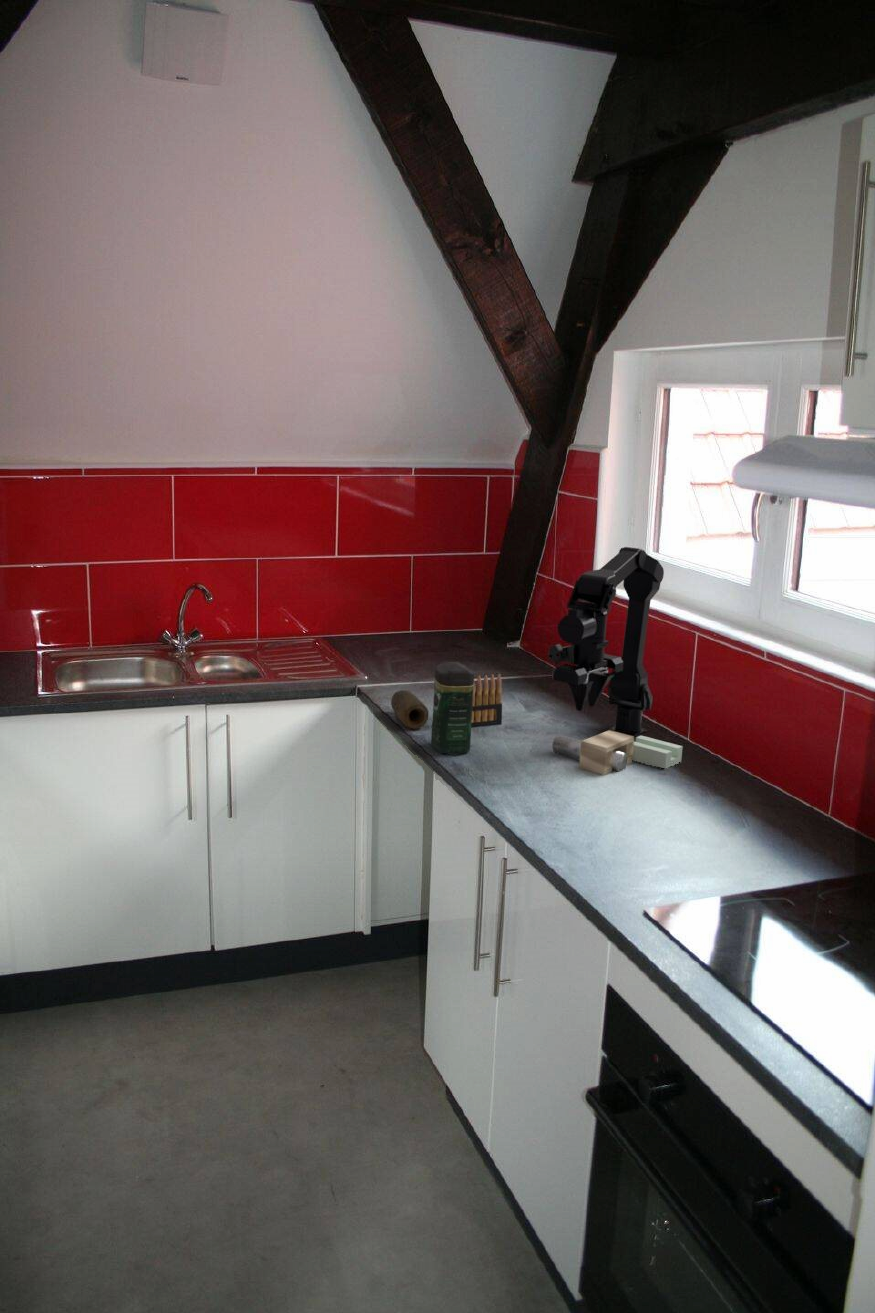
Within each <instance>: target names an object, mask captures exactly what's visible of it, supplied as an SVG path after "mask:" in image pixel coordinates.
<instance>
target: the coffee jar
mask: <svg viewBox="0 0 875 1313" xmlns="http://www.w3.org/2000/svg"><path fill="white" fill-rule="evenodd" d="M433 682H434V683H433V684H434V687H433V688H434V689H433V690H434V691H433V705H432V706H433V707H432V708H433V709H432V721H431V722H432V723H431V734H430V735H431V736H430V737H431V738H430V743H431V745H432V747H433V748H434V749H435V751H437V752H438V753H442V754H443V753H444V754H448V755H460V754H463V753H464V754H465V753H468V752H470V749H471V737H472V736H471V734H472V728H471V720H472V703H473V689H474V688H475V687H474V683H475V673H474V671H473V670H471V669H470V668H469V667H468V666H466V665H464V664H463V663H461V662H460V661H441V663H439V664H438V665H436V667H435V669H434V678H433Z"/></svg>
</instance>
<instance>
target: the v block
mask: <svg viewBox="0 0 875 1313" xmlns="http://www.w3.org/2000/svg"><path fill="white" fill-rule="evenodd" d="M683 748H684V747H683V745H678V744H675V743H672V742H668V741H663V740H660V739H656V738H653V737H649V736H645V735H637V736H635V741H634V745H633V755H632V760H633V761H632V762H636V761H637V762H636V763H639V762H641V763H640V764H643V763H645V764H644V765H646V766H647V765H648V766H650V765H652V766H651V767H654V766H658V767H662V768H667V769H669V768H668V767H670V766H672V767H674V766H675V764H676V765H677V764H680V763H682V758H683V757H682V755H683ZM679 762H680V763H679ZM670 768H671V767H670Z"/></svg>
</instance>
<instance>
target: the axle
mask: <svg viewBox="0 0 875 1313" xmlns="http://www.w3.org/2000/svg"><path fill="white" fill-rule="evenodd" d="M581 741H582V740H579V739H576V738H574V737H568V736H565V735H562V734H558V735H556V736H555V737H554V739H553V742H552V746H551V747H552V748H551V749H552V751H553V753H554V754H558V755H561V756H564V757H569V758H571V759H575V760H579V761H580V752H581ZM627 761H628V757H627V754H626V753H624V752H620V751H617V750H613V761H612V771H616V772H622V771H624V770H625V769H626V768H627V766H628V765H627ZM623 769H624V770H623Z"/></svg>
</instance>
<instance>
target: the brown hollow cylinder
mask: <svg viewBox="0 0 875 1313" xmlns="http://www.w3.org/2000/svg"><path fill="white" fill-rule="evenodd" d="M390 705H391V708H392V710H393V713H394V714H395V715H396V716H397V718H398V719H399V720H400V722H402V724H404V725H405V726H406V727H407V728H409V729H410V728H411V729H413V730H418V729H421V728H423V727H424V726H425V724H426V723H427V721H428V719H429V713H430V712H429V709H428V707H427V706H426V705H425V704H424V703H423V701H422V700H420V699H419V698H418V697H417V696H416V695H415V694H414V693H413V692H411V691H409V690H406V689H405V690H398V691H396V692H394V693H393V694H392V697H391V699H390Z"/></svg>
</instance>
